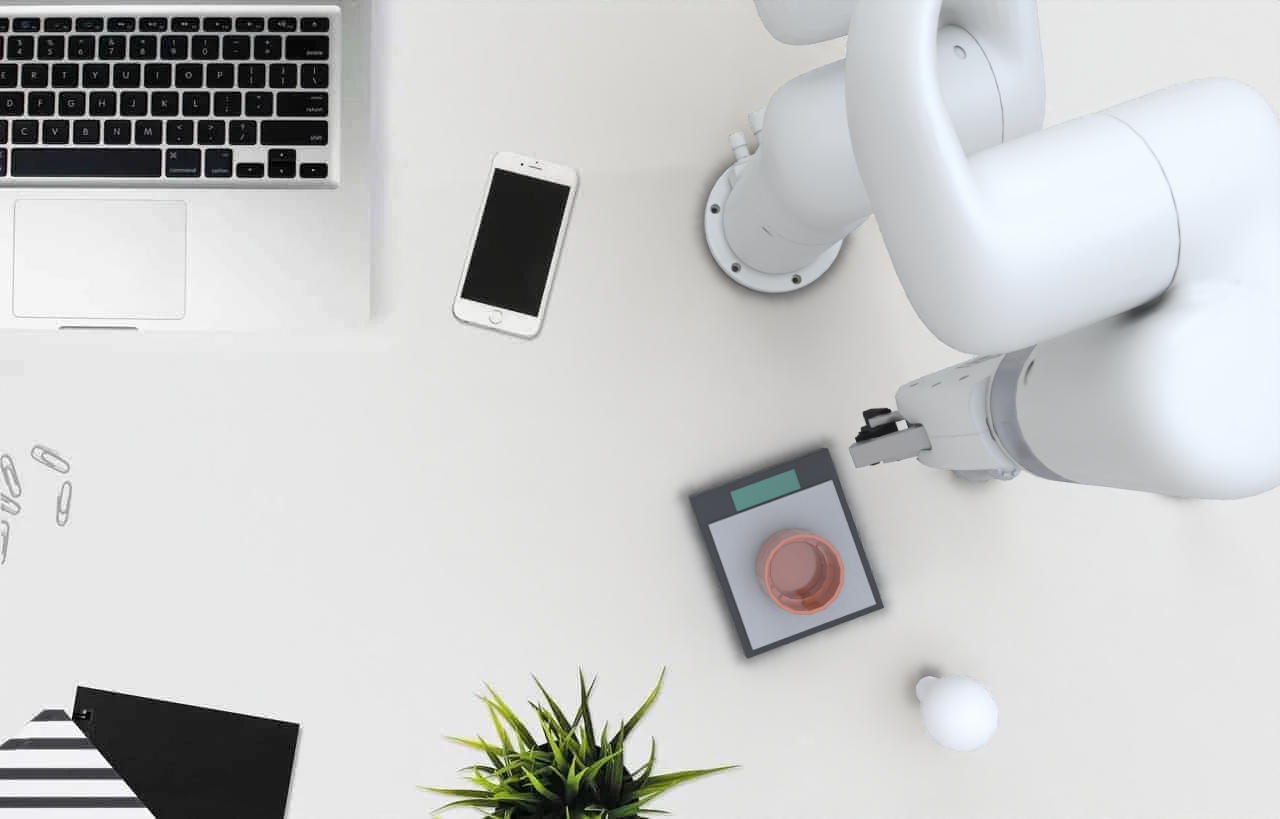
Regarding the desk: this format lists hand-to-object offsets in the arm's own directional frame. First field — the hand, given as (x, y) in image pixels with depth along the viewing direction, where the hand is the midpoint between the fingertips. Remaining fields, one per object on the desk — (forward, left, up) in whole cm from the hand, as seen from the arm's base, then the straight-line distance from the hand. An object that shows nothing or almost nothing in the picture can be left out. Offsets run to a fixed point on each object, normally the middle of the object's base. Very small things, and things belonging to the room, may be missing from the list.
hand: (944, 407), depth 64 cm
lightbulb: (+26, -1, -26) cm, 37 cm away
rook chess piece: (+8, +10, -26) cm, 29 cm away
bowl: (+11, -9, -24) cm, 28 cm away
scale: (+10, -9, -26) cm, 30 cm away
